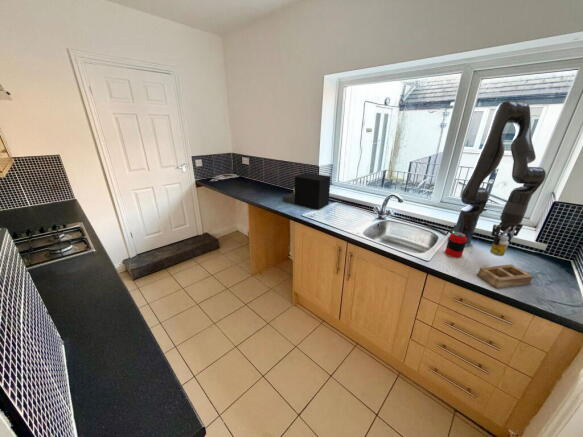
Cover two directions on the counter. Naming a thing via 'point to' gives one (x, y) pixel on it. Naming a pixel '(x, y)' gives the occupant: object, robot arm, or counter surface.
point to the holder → (505, 276)
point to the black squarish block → (310, 191)
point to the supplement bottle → (500, 246)
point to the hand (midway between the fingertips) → (500, 243)
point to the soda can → (456, 244)
